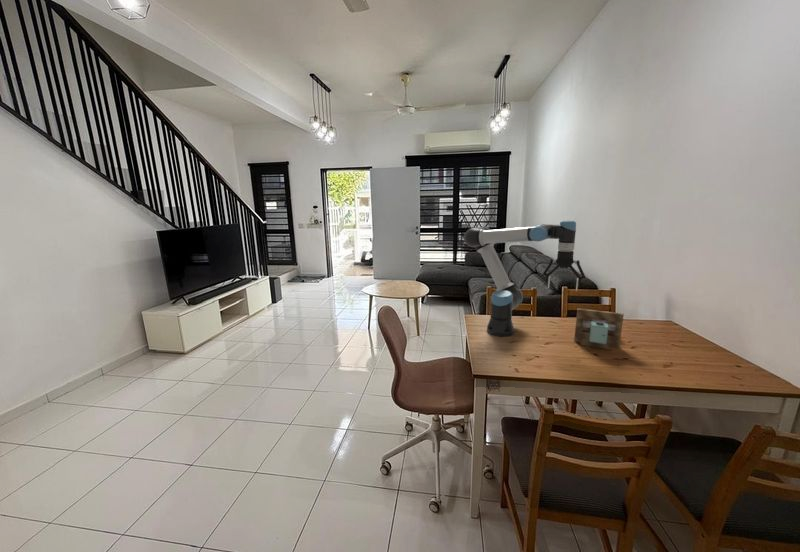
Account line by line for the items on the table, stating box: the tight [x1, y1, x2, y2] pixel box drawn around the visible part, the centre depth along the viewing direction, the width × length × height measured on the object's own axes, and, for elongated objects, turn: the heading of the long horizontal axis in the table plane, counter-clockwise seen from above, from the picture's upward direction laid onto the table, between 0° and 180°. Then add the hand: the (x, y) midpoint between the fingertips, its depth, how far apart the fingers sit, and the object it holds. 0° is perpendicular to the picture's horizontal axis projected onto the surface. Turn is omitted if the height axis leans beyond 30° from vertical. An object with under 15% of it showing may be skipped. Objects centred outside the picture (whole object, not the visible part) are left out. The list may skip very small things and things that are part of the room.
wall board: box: [573, 307, 624, 351], centre depth 164 cm, size 20×8×18 cm, turn 61°
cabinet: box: [589, 319, 608, 344], centre depth 159 cm, size 7×9×10 cm
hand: (562, 289), depth 172 cm, fingers open, 13 cm apart
